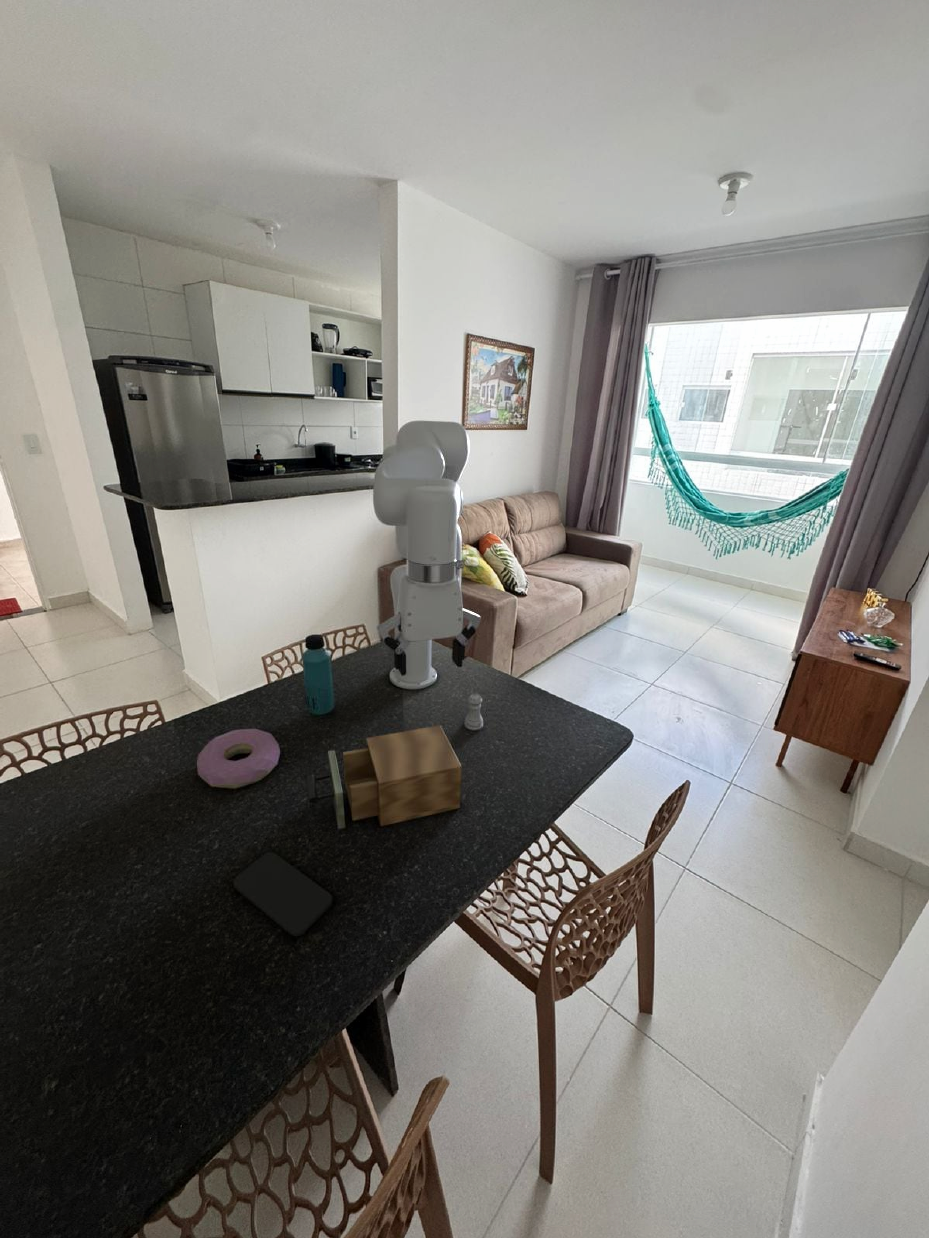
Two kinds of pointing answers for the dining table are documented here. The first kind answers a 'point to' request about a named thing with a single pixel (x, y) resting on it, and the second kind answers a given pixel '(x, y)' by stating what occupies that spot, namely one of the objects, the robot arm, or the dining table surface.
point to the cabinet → (415, 774)
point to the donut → (239, 772)
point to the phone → (283, 893)
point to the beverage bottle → (317, 676)
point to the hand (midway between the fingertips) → (429, 667)
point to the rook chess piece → (474, 713)
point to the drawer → (350, 785)
